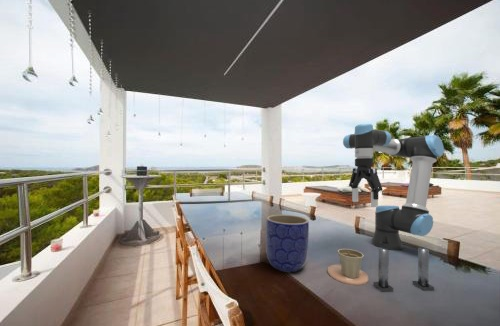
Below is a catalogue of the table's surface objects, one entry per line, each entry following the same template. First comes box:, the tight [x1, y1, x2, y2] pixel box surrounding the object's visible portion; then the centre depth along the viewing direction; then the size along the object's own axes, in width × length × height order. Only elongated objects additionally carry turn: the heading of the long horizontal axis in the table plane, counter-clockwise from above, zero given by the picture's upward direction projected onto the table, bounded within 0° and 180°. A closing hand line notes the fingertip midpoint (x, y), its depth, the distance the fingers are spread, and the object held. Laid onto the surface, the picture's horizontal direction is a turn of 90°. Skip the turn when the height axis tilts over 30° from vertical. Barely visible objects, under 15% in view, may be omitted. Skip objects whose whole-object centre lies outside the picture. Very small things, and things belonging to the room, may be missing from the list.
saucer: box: [327, 264, 369, 286], centre depth 88 cm, size 15×15×1 cm
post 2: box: [412, 246, 435, 292], centre depth 81 cm, size 4×4×14 cm
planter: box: [265, 214, 310, 273], centre depth 95 cm, size 18×18×21 cm
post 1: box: [373, 247, 394, 293], centre depth 79 cm, size 4×4×14 cm
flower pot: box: [337, 248, 364, 278], centre depth 87 cm, size 9×9×9 cm
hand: (364, 204), depth 99 cm, fingers open, 13 cm apart
